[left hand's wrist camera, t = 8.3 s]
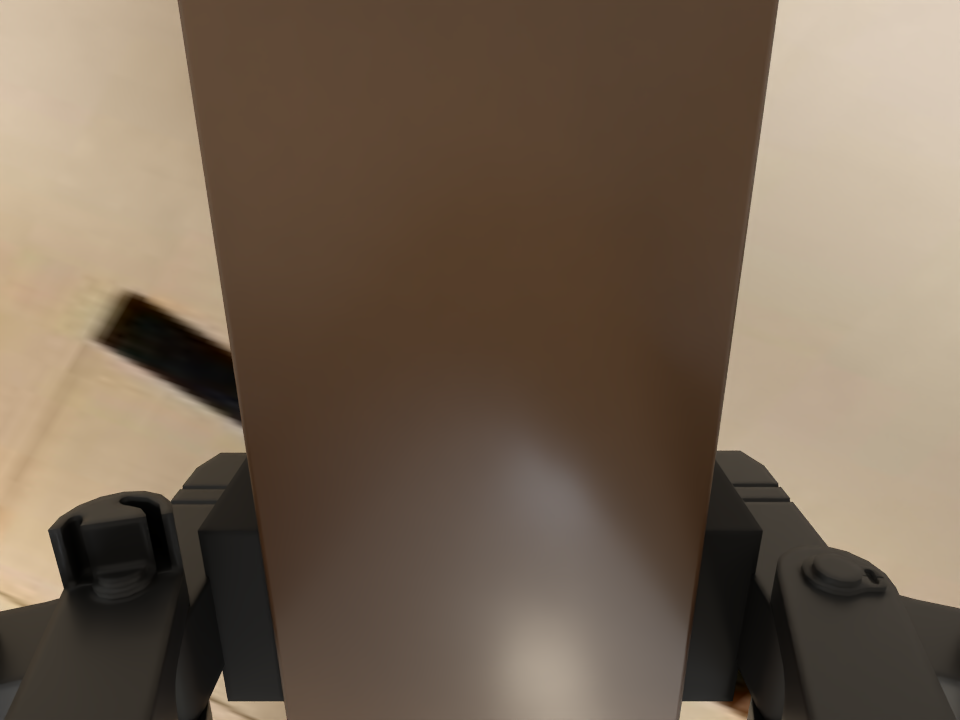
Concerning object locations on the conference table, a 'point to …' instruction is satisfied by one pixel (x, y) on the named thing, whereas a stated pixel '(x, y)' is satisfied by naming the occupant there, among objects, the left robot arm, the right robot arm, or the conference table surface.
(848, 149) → the conference table surface
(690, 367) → the beam
